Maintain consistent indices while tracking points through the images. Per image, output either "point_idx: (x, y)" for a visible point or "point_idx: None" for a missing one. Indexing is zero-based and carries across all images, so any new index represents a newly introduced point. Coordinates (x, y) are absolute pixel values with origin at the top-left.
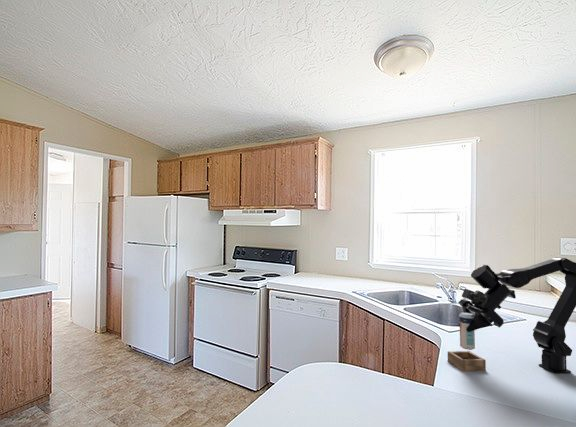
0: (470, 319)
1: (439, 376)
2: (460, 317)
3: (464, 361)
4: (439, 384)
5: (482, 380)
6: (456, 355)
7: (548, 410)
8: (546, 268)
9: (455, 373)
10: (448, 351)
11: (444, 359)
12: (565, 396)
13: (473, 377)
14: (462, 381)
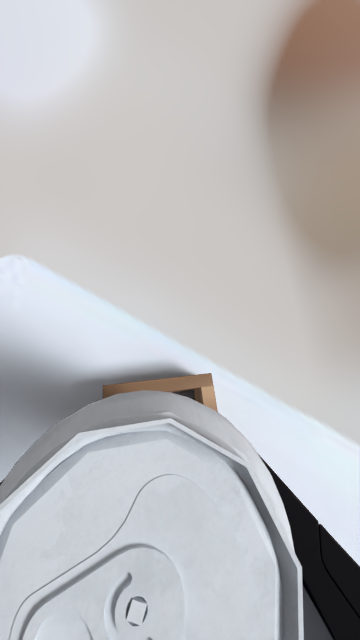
0: None
1: (74, 285)
2: (142, 397)
3: (103, 393)
4: (22, 260)
5: (23, 420)
6: (162, 388)
7: None
8: None
9: (92, 349)
10: (209, 376)
11: (218, 373)
12: None
13: (53, 398)
14: (29, 338)
